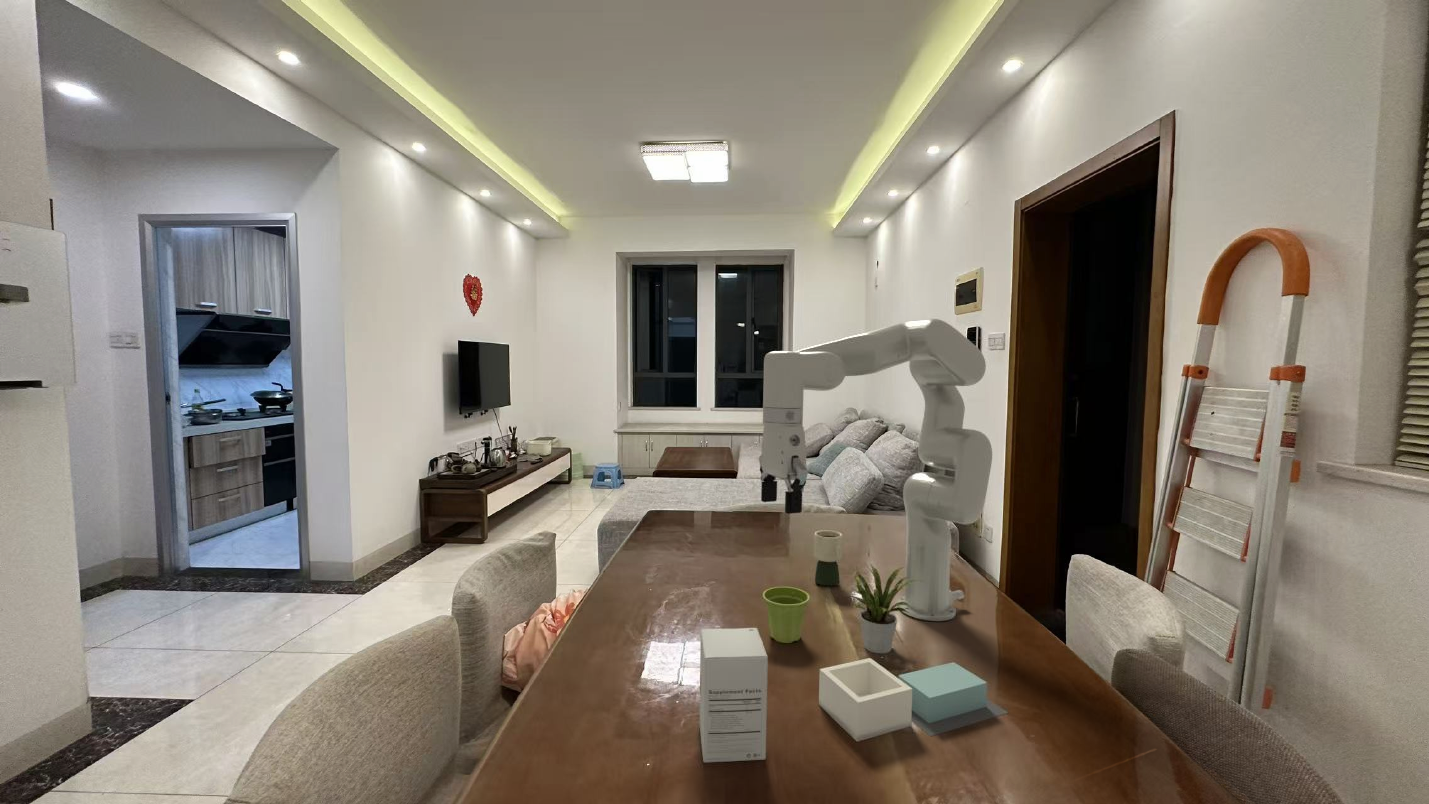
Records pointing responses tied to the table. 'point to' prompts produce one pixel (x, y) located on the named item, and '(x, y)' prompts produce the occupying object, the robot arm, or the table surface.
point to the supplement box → (733, 695)
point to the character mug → (827, 556)
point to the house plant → (878, 611)
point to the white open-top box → (865, 698)
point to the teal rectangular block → (945, 691)
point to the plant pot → (785, 612)
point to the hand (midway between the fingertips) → (780, 506)
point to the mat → (958, 719)
